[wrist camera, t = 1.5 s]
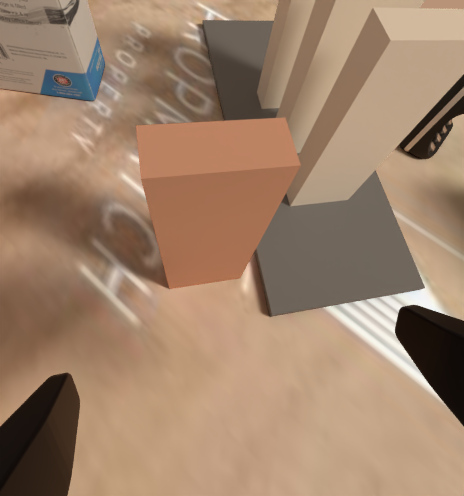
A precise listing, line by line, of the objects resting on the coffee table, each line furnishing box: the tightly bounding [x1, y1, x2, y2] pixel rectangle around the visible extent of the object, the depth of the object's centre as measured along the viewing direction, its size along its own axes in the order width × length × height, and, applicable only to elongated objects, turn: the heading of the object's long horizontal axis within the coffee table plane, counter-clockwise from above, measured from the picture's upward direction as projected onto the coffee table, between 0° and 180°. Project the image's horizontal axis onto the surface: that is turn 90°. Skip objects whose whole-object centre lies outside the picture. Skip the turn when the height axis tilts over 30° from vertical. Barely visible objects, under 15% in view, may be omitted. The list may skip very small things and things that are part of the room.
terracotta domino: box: [136, 118, 301, 289], centre depth 16 cm, size 2×5×13 cm, turn 101°
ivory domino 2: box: [276, 0, 425, 153], centre depth 20 cm, size 2×5×13 cm, turn 100°
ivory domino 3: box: [286, 7, 464, 206], centre depth 19 cm, size 2×5×13 cm, turn 101°
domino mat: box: [203, 20, 425, 317], centre depth 27 cm, size 30×12×1 cm, turn 11°
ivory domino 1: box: [257, 0, 315, 109], centre depth 22 cm, size 2×5×13 cm, turn 101°
